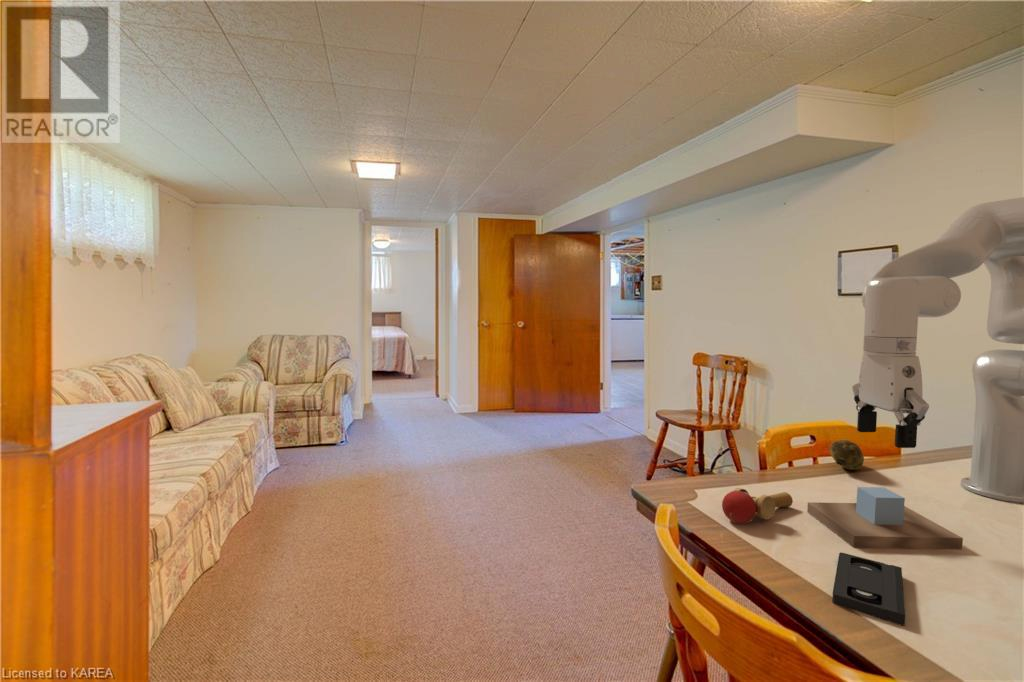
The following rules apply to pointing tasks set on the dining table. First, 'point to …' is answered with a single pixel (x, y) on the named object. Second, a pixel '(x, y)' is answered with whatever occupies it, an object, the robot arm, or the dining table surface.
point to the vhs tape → (870, 588)
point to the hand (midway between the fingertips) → (884, 439)
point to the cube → (880, 505)
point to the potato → (847, 454)
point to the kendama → (752, 505)
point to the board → (883, 529)
